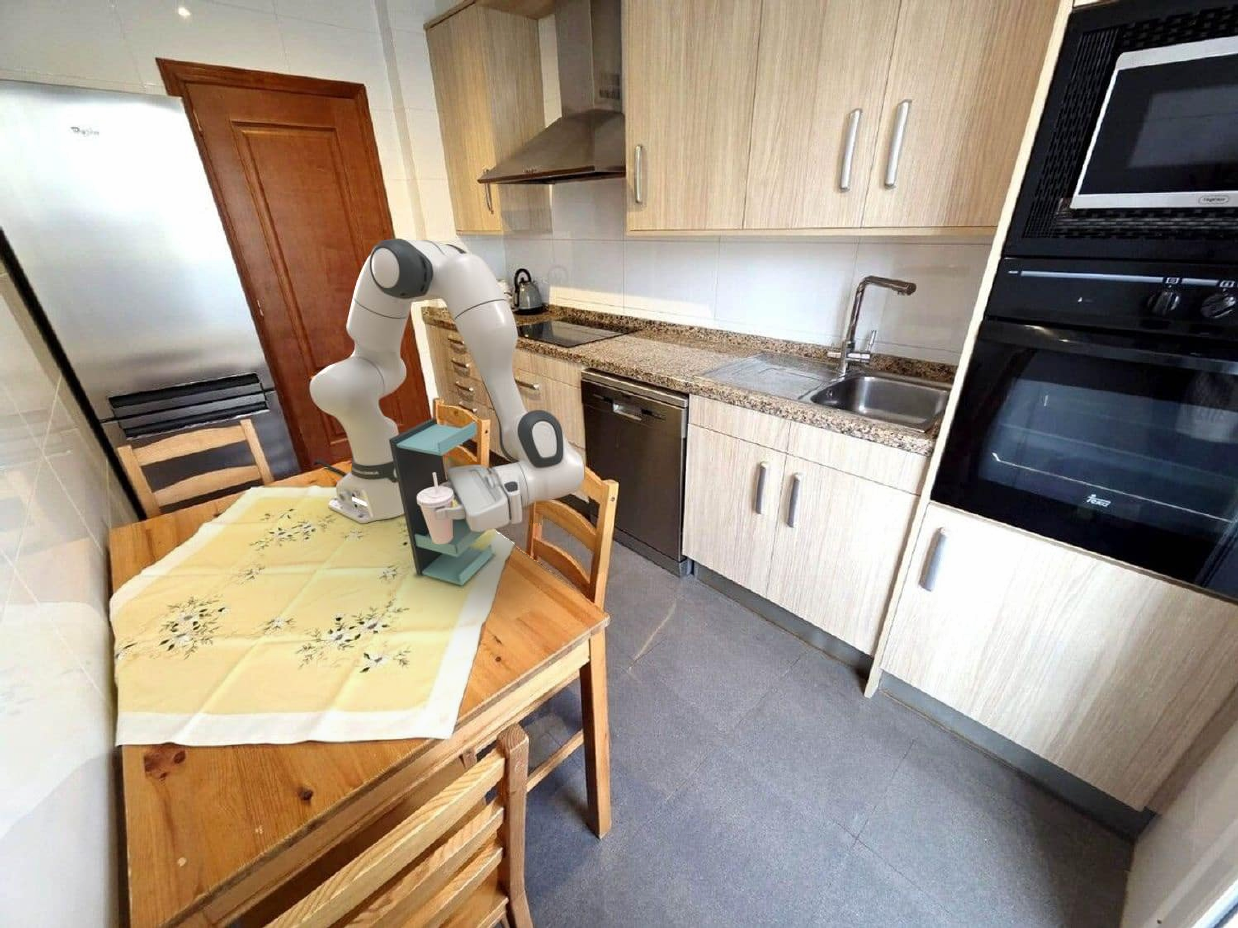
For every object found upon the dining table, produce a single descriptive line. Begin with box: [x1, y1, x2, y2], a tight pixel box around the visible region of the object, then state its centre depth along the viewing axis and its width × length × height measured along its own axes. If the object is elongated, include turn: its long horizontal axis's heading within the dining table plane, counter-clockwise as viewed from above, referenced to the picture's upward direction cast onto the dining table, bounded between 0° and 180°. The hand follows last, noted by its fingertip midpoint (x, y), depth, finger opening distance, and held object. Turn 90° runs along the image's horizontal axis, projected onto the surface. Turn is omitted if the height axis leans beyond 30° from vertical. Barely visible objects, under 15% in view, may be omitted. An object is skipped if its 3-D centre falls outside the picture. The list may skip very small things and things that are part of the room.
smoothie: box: [417, 472, 455, 544], centre depth 92 cm, size 6×6×14 cm
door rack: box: [389, 417, 493, 587], centre depth 102 cm, size 11×12×32 cm
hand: (431, 504), depth 91 cm, fingers closed on smoothie, 6 cm apart
